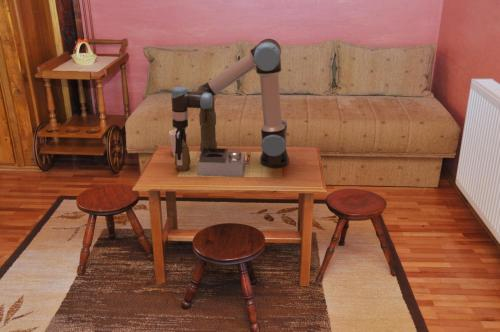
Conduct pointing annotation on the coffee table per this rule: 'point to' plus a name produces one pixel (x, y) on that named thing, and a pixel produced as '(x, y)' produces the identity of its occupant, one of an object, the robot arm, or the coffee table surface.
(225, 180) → the coffee table surface
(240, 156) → the grey box with recess
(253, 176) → the coffee table surface
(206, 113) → the dark brown statue
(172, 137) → the foam cup
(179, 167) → the squeeze bottle
